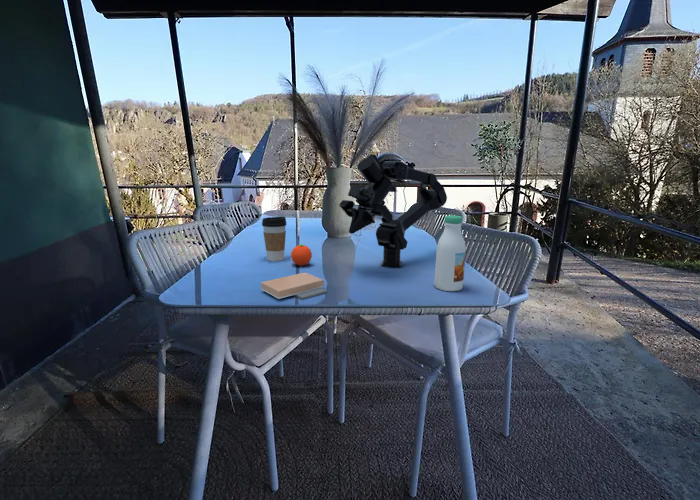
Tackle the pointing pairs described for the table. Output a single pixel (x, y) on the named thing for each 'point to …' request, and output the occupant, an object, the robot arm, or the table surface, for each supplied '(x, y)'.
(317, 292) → the mat
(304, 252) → the clementine
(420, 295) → the table surface
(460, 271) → the milk bottle
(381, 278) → the table surface
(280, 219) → the coffee cup
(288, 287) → the tile
